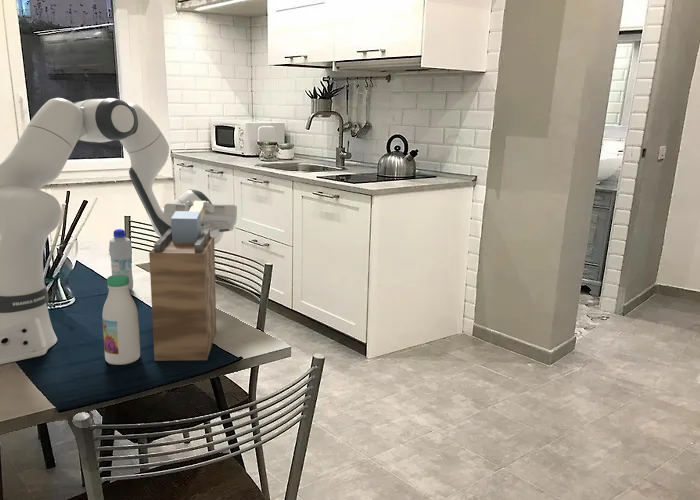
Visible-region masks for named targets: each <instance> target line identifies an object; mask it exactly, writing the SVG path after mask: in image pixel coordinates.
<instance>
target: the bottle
mask: <svg viewBox="0 0 700 500" xmlns="http://www.w3.org/2000/svg"><path fill="white" fill-rule="evenodd" d="M132 250H133V248H132V243H131V239H130V238H128V237H126V231H125V230H124V229H121V228H119V229H115V230H113V237H112V238H111V239H110V240H109V245H108V251H109V253H108V254H109V256H110V267H111V269H110V270H111V276H113V275H126V276H128V277H129V286H128V289H129V292H132V290H133V289H134V277H133V269H132V268H133V264H132V253H133V251H132Z"/></svg>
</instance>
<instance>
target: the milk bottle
mask: <svg viewBox="0 0 700 500" xmlns="http://www.w3.org/2000/svg"><path fill="white" fill-rule="evenodd" d="M106 282H107V283H106V284H107V288H108V293H107V296H106V297H107V298H106V300H105V302H104V305H103V307H102V317H101V318H102V333H103V334H102V337H103V347H104V348H103V349H104V350H103V351H104V359H105V361H106V362H107V364H109V365H115V366H116V365H117V366H118V365H119V366H122V365H128V364H132V363H134V362H136V361H137V360H139V358H140V357H141V342H140V341H141V340H140V325H139V314H138V307H137V305H136V302H135V300H134V299H133V297H132V295H131V293H130V292H131V291H130V292H129V289H128V286H129V277H128V276H126V275H113V276H112V275H110V276H107V278H106Z"/></svg>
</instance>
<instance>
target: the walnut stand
mask: <svg viewBox="0 0 700 500" xmlns="http://www.w3.org/2000/svg"><path fill="white" fill-rule="evenodd" d="M215 245H216V244H214V236H210V229H205V230H204V231H203V233H202V234H201V236H200V237H199V239H198V240H197V242H196V243H195V242H172V229H168V231H167V232H166V233H165V234H164V235H163V236H162V237H161V238H160V237H159V239H157V240H156V241H155V243H154V244H153V246H154V247H152V249H151V250H150V252H149V254H148V255H149V272H150V273H149V274H150V275H149V278H150V298H151V312H152V313H151V315H152V316H151V317H152V337H153V356H154V357H153V358H154V361H155V362H157V361H160V362H161V361H208V358H209V355H210V352H211V349H212V346H213V343H214V339H215V337H216V334H217V304H216V303H217V301H216V300H217V299H216V298H217V297H216V295H217V294H216V253H215V252H216V250H215V248H216V247H215Z"/></svg>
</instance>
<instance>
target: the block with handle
mask: <svg viewBox="0 0 700 500" xmlns="http://www.w3.org/2000/svg"><path fill="white" fill-rule="evenodd" d="M205 212H206V209H204V208H203V201H194V203H193V205H192V206H191V208H190V210H189V211H175V213H174V214H173V216H172V217H171V228H172V242H195V243H196V242H197V240H198V239H199V237H200V236H201V221H202V219H203V217H204V214H205Z"/></svg>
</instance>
